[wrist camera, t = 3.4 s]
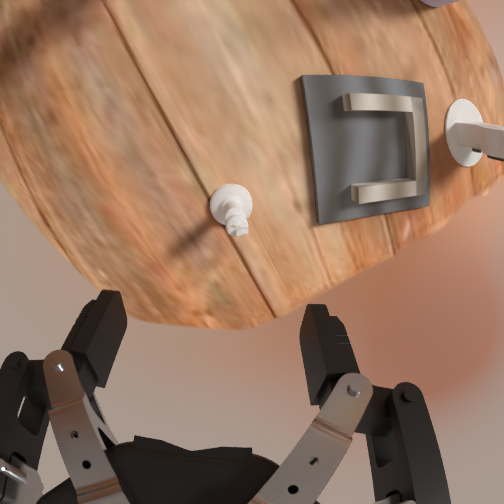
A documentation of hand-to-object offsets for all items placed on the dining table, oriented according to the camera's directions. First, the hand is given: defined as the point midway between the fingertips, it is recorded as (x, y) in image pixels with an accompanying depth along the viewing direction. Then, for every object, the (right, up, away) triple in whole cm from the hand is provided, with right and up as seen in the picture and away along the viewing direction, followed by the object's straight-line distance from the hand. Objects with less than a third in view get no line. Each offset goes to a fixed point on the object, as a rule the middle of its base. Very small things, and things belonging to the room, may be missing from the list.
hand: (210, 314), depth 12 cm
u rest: (+17, +16, +20) cm, 31 cm away
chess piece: (-1, +8, +21) cm, 23 cm away
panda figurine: (+36, +22, +20) cm, 46 cm away
